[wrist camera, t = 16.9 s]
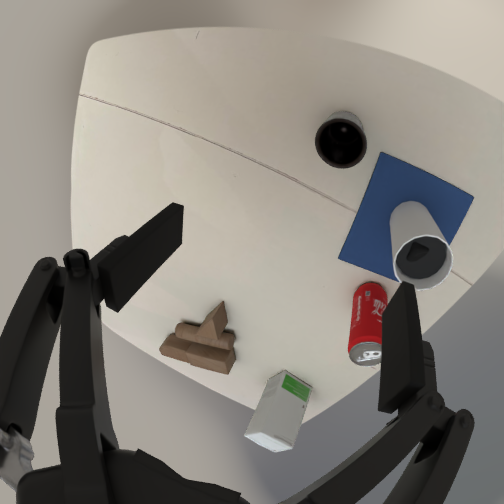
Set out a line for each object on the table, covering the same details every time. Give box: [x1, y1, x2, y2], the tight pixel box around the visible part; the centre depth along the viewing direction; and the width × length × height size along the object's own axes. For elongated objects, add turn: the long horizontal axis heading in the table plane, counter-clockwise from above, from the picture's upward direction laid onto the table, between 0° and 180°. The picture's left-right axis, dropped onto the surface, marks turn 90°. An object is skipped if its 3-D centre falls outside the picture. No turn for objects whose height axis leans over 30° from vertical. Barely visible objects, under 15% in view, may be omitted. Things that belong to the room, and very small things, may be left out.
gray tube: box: [315, 111, 367, 168], centre depth 27 cm, size 4×4×10 cm
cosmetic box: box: [244, 371, 312, 452], centre depth 53 cm, size 8×7×16 cm
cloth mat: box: [338, 152, 474, 282], centre depth 34 cm, size 16×14×1 cm
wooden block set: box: [159, 301, 236, 375], centre depth 57 cm, size 17×6×18 cm
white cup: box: [390, 201, 453, 291], centre depth 30 cm, size 7×7×10 cm
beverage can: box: [348, 282, 387, 367], centre depth 37 cm, size 5×5×12 cm
